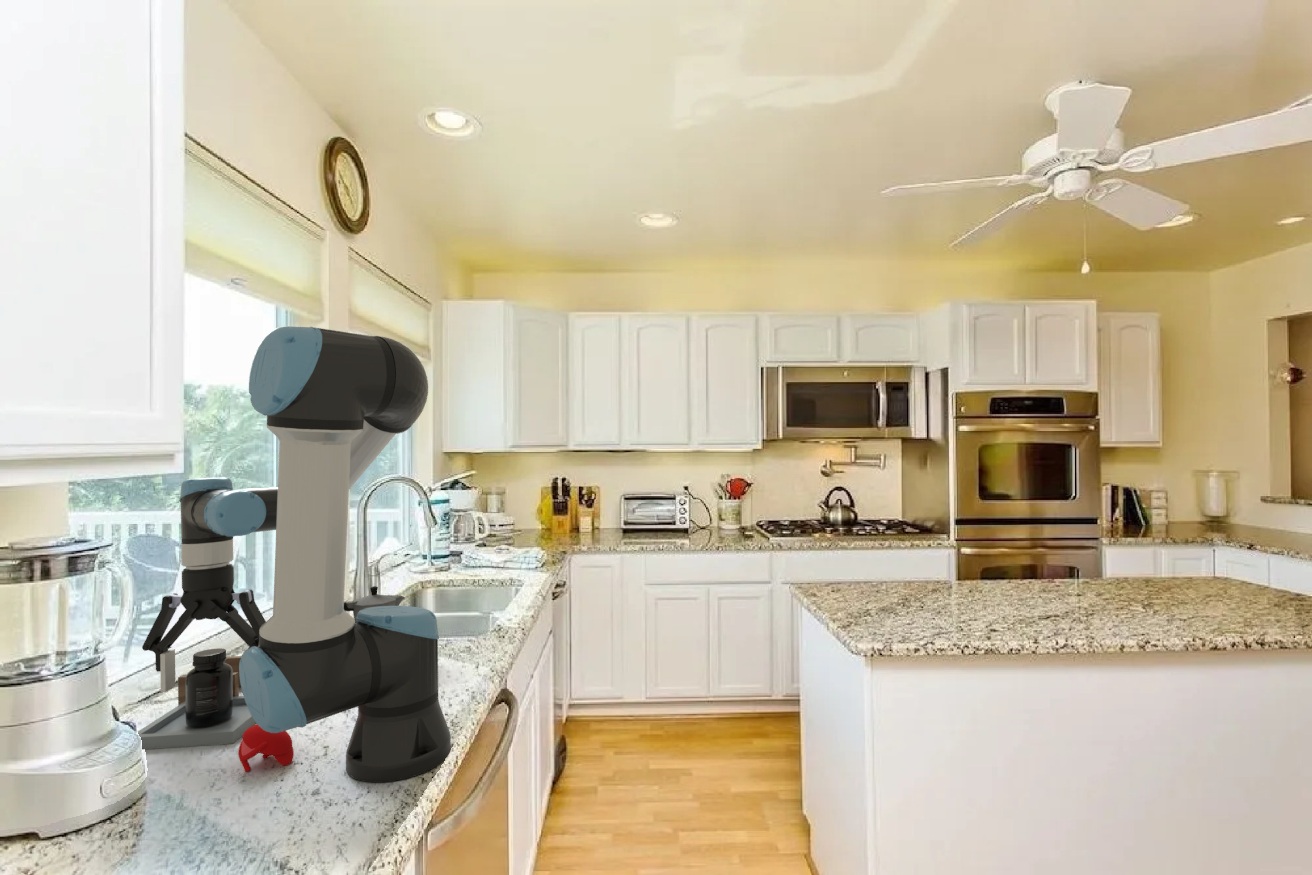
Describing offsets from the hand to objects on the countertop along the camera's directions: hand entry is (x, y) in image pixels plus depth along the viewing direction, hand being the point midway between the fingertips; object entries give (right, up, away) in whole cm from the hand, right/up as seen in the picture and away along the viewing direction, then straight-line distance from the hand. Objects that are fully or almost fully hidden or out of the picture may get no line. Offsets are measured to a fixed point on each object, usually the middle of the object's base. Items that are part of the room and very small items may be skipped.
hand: (209, 686), depth 112 cm
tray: (0, -7, 0) cm, 7 cm away
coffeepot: (+16, -7, +27) cm, 32 cm away
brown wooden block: (-7, -7, +13) cm, 17 cm away
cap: (+18, -7, -14) cm, 24 cm away
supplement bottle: (0, -6, 0) cm, 6 cm away
